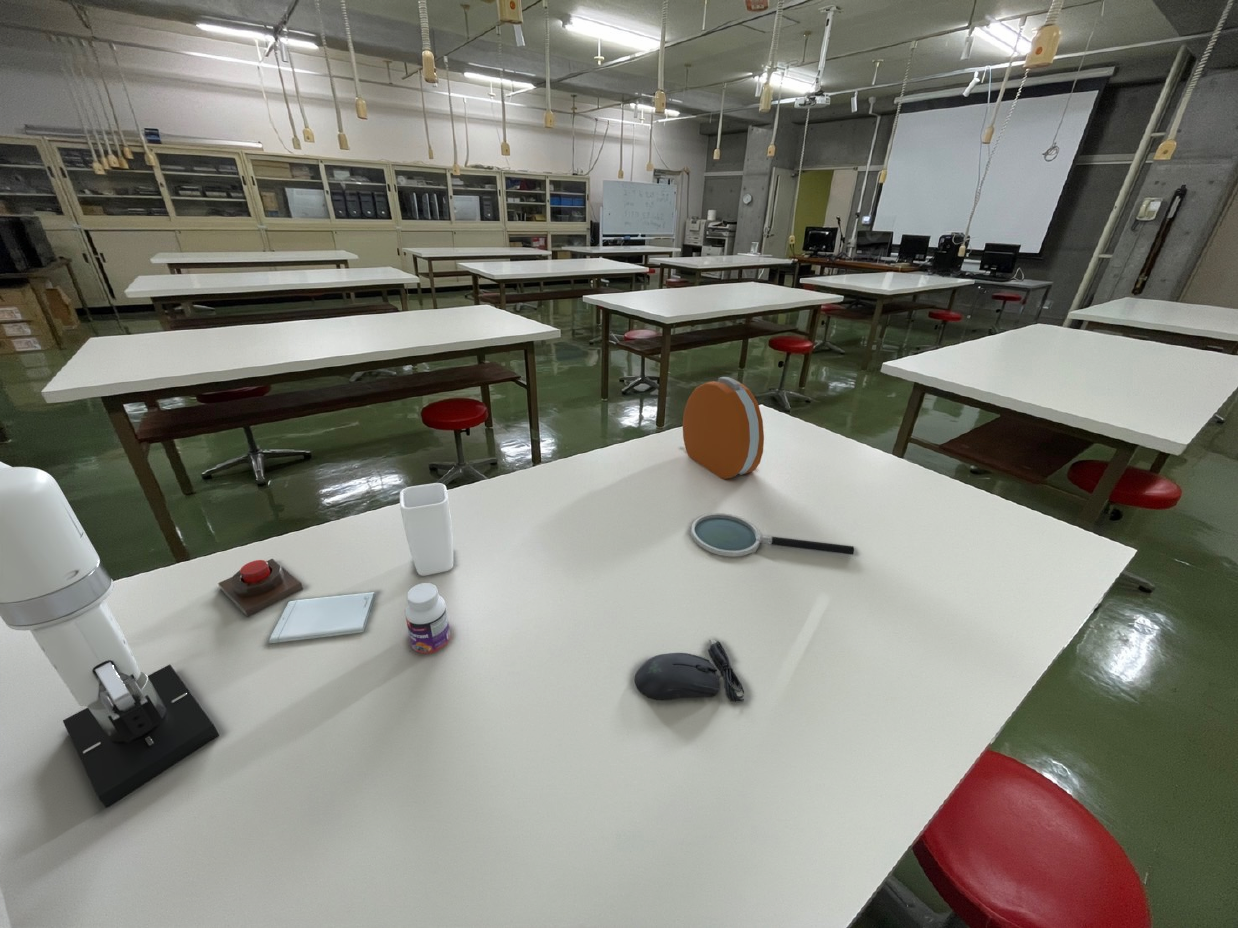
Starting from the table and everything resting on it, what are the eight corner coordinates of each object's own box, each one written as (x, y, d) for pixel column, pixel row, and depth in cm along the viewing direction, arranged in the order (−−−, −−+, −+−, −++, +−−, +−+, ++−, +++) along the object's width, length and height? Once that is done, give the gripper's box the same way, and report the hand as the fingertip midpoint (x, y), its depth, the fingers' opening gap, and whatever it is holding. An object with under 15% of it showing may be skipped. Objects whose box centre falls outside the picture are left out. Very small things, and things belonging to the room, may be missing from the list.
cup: (459, 575, 86) (448, 502, 80) (414, 584, 84) (399, 510, 77) (454, 550, 92) (445, 481, 86) (412, 558, 90) (399, 487, 83)
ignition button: (239, 576, 79) (235, 568, 78) (264, 565, 81) (261, 556, 81) (249, 586, 77) (245, 577, 76) (274, 574, 80) (271, 565, 79)
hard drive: (374, 590, 80) (289, 599, 78) (362, 628, 73) (267, 639, 70) (376, 598, 81) (291, 607, 78) (364, 636, 74) (271, 647, 71)
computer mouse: (626, 657, 72) (627, 638, 70) (721, 645, 75) (725, 627, 73) (641, 720, 63) (643, 700, 62) (748, 704, 66) (753, 685, 64)
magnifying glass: (860, 577, 90) (863, 568, 89) (689, 555, 94) (690, 546, 93) (843, 534, 102) (845, 526, 101) (691, 516, 106) (692, 508, 105)
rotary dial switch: (74, 736, 59) (61, 719, 57) (178, 679, 66) (169, 663, 65) (110, 813, 52) (96, 796, 50) (222, 740, 59) (213, 723, 58)
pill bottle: (403, 648, 72) (392, 597, 68) (432, 624, 76) (423, 574, 72) (431, 663, 70) (421, 611, 65) (458, 637, 74) (451, 587, 70)
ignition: (222, 593, 80) (214, 574, 79) (276, 568, 86) (269, 549, 84) (249, 621, 75) (241, 601, 74) (304, 592, 81) (298, 573, 79)
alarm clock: (764, 477, 122) (781, 389, 112) (733, 486, 118) (749, 396, 107) (707, 443, 139) (717, 363, 129) (678, 449, 135) (687, 368, 124)
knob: (102, 725, 57) (79, 691, 54) (157, 695, 61) (138, 662, 58) (116, 751, 54) (92, 716, 52) (172, 718, 58) (153, 684, 55)
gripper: (-18, 575, 50) (64, 690, 58) (17, 658, 41) (108, 781, 49) (84, 539, 55) (146, 649, 63) (134, 607, 47) (199, 724, 55)
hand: (130, 706), depth 56 cm, fingers open, 9 cm apart
